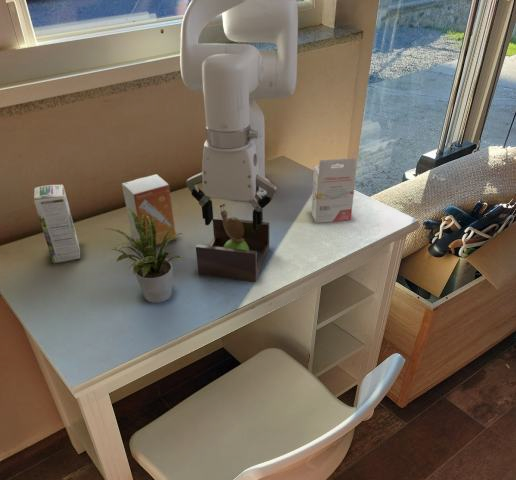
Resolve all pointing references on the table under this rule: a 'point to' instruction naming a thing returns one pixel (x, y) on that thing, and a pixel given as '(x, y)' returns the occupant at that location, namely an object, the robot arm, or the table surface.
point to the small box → (150, 205)
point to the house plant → (150, 261)
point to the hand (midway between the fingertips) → (232, 224)
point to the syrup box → (57, 222)
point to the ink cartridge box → (333, 190)
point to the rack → (234, 253)
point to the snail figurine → (233, 232)
